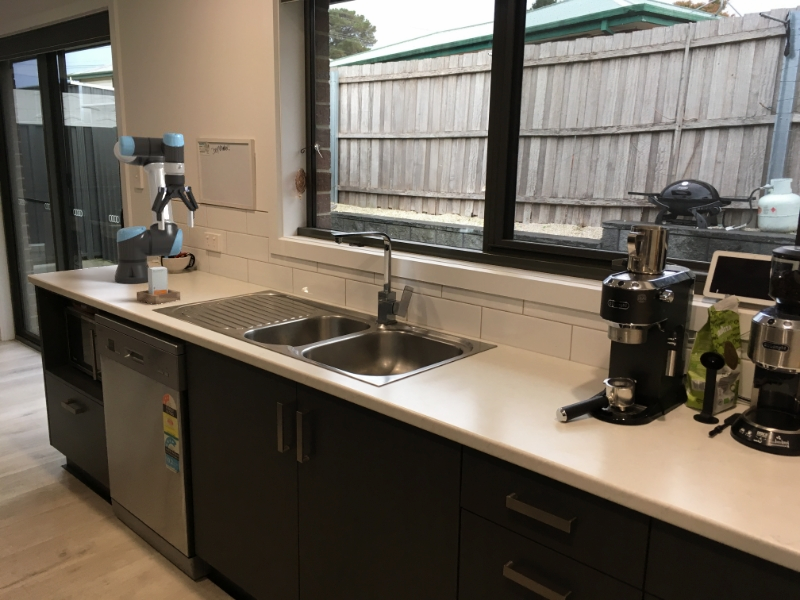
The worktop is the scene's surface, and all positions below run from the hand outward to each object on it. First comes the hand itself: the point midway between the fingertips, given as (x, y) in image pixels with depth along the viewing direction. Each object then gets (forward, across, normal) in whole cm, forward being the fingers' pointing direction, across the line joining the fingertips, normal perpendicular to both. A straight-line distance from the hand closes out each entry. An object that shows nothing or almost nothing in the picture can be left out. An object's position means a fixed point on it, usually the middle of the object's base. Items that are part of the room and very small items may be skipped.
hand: (176, 228), depth 254 cm
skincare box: (+25, -15, -8) cm, 30 cm away
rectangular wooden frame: (+25, -15, -8) cm, 31 cm away
